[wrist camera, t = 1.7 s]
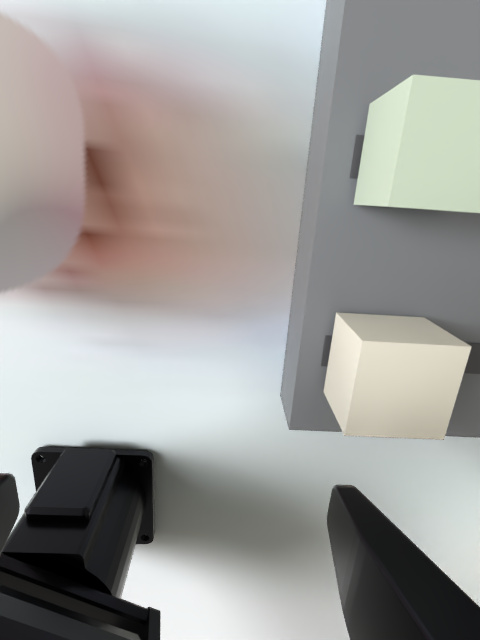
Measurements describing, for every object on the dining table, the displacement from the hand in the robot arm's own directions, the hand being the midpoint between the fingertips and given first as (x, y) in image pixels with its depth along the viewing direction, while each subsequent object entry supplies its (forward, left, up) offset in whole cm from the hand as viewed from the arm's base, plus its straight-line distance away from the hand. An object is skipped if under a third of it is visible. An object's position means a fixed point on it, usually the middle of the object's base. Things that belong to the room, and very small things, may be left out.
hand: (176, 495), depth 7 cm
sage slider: (+7, -7, -8) cm, 13 cm away
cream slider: (0, -7, -8) cm, 10 cm away
